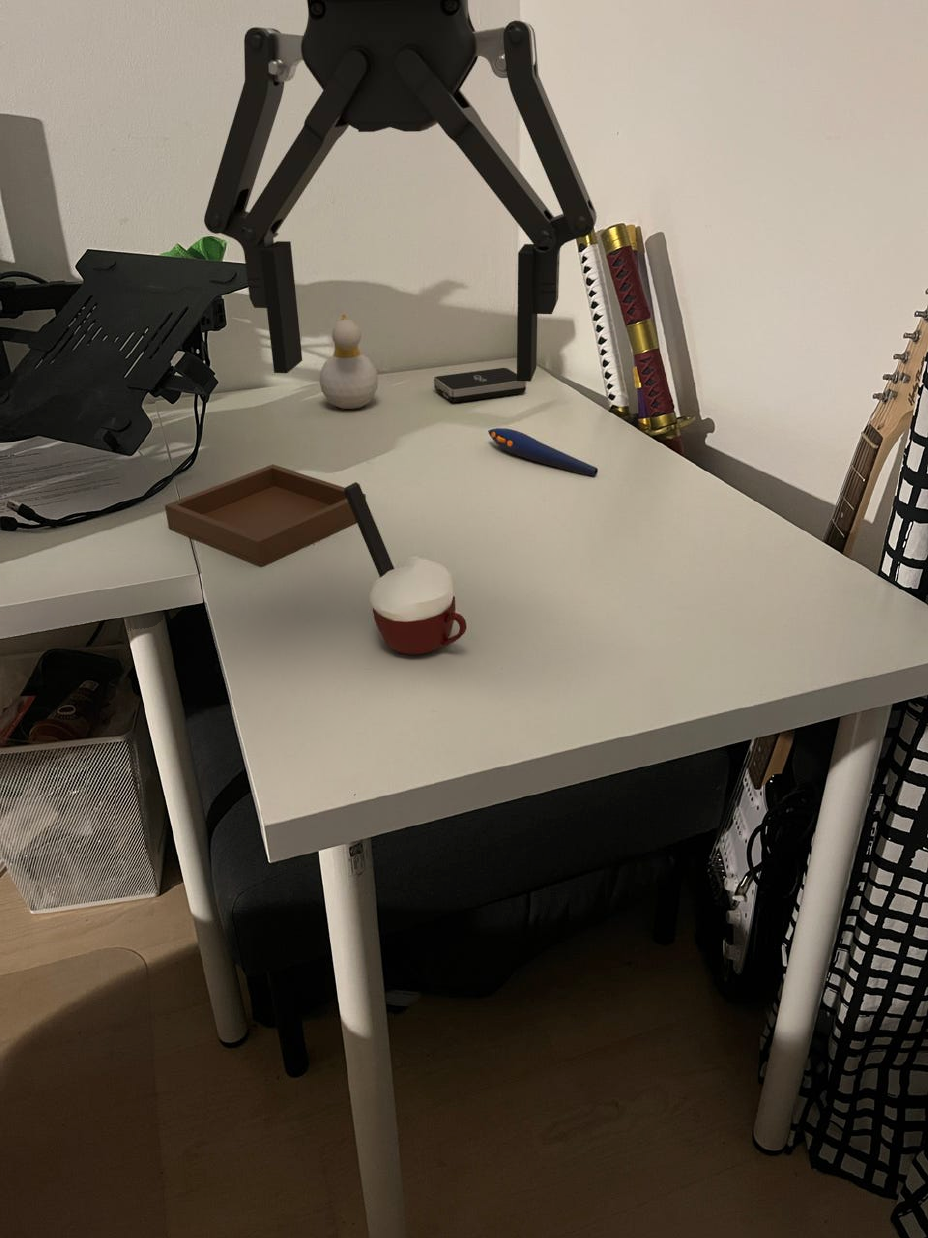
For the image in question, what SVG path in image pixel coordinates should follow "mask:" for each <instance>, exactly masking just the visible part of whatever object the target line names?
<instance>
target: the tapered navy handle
mask: <svg viewBox="0 0 928 1238" xmlns="http://www.w3.org/2000/svg"><path fill="white" fill-rule="evenodd" d="M487 433H488V434H489V436H490V438H491V439H492V441H493V442H494V443H495V444H496V445H497V446H498V447H499V448H501V449H503V450H504V451H506V452H508V453H510V454H513V455H514V456H516V457H517V456H518V457H520V458H523V459H526V460H529V461H532V462H535V463H538V464H542V465H545V466H550V467H552V468H556V469H561V470H565V471H569V472H573V473H577V474H582V475H586V476H590V477H596V476H597V475H598V472H599V469H598V467H596V466H594V465H591V464H589V463H586V462H585V461H582V460H580V459H578V458H576V457H574V456H571V455H569V454H567V453H565V452H563V451H560V450H558V449H556V448H555V447H552V446H550V445H548V444H545V443H543V442H541V441H539V440H537V439H535V438H533V437H531V436H530V435H528V434H526V433H524V432H521V431H518V430H515V429H510V428H506V427H505V428H504V427H503V428H502V427H496V428H491V429H489V430H487Z"/></svg>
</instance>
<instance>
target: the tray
mask: <svg viewBox="0 0 928 1238" xmlns="http://www.w3.org/2000/svg"><path fill="white" fill-rule="evenodd" d="M344 490H345V487H344V486H341V485H339V484H335V483H332V482H329V481H326V480H323V479H319V478H316V477H313V476H310V475H307V474H303V473H301V472H299V471H295V470H292V469H288V468H286V467H282V466H279V465H276V464H270V465H267V466H265V467H263V468H260V469H257V470H254V471H252V472H249V473H247V474H244V475H241V476H239V477H235V478H233V479H230V480H228V481H225V482H223V483H220V484H217V485H215V486H211V487H210V488H209V487H208V488H207V489H204V490H201V491H199V492H196V493H193V494H191V495H188V496H186V497H183V498H180V499H178V500H174V501H173V502H169V503H166V504H165V505H164V509H165V514H166V520H167V526H168V529H169V530H171V531H174V532H176V533H178V534H181V535H183V536H185V537H188V538H191V539H192V540H195V541H197V542H200V543H202V544H205V545H207V546H210V547H212V548H215V549H217V550H219V551H222V552H223V553H226V554H229V555H231V556H234V557H236V558H239V559H241V560H243V561H246V562H248V563H250V564H252V565H255V566H258V567H260V568H262V567H264V566H267V565H269V564H270V563H271V564H272V563H274V562H275V561H277V560H279V559H282V558H283V557H286V556H288V555H290V554H292V553H294V552H297V551H299V550H302V549H303V548H305V547H307V546H310V545H311V544H314V543H316V542H319V541H320V540H322V539H325V538H327V537H329V536H331V535H333V534H335V533H337V532H340V531H342V530H344V529H346V528H348V527H351V526H352V525H355V524H357V522H356V519H355V517H354V515H353V512H352V510H351V507H350V505H349V503H348V500H347V498H346V496H345V493H344ZM363 494H364V497H365V499H366V500H367V495H366V493H363Z"/></svg>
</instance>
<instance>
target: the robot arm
mask: <svg viewBox="0 0 928 1238" xmlns="http://www.w3.org/2000/svg"><path fill="white" fill-rule="evenodd" d="M306 4H307V11H308V13H307V23H306V27H305V30H304V32H303V35H299V34H291V33H282V32H281V31H279V30H278V29H276V28H270V27H259V26H258V27H257V26H256V27H250V28H249V29H248V30H246V32H245V35H244V38H243V39H244V40H243V49H244V51H243V52H244V53H243V54H244V57H243V58H244V83H243V85H242V89H241V92H240V96H239V99H238V102H237V105H236V109H235V112H234V116H233V119H232V123H231V126H230V129H229V133H228V136H227V139H226V143H225V146H224V149H223V152H222V155H221V159H220V163H219V166H218V170H217V173H216V176H215V179H214V181H213V186H212V190H211V193H210V197H209V199H208V202H207V206H206V209H205V213H204V218H203V222H204V225H205V228H206V230H207V231H209V232H210V233H211V234H214V235H218V234H221V235H223V236H225V237H228V238H231V239H232V240H233V239H234V240H235V241H237V243H239V244H240V246H241V248H242V251H243V254H244V264H245V271H246V279H247V281H246V282H247V287H248V295H249V300H250V302H251V304H252V306H253V308H254V309H266V313H267V314H266V315H267V322H268V332H269V340H270V349H271V357H272V358H271V359H272V366H273V373H274V374H288V373H289V372H290V371H292V370H293V369H294V368H295V367H296V366H298V365H299V364H300V363H302V362H303V352H302V344H301V342H302V341H301V332H300V322H299V313H298V303H297V293H296V282H295V281H296V280H295V273H294V271H295V270H294V263H293V262H294V261H293V253H292V242H291V241H285V240H283V241H282V240H277V241H275V240H274V239H275V238H276V237H278V235H279V232H278V231H279V230H280V228H281V227H282V225H283V223H284V222H285V220H286V219H287V217H288V216H289V214H290V213H291V211H292V210H293V209H294V207H295V205H296V204H297V202H298V201H299V200H300V197H301V196H302V195H303V193H304V192H305V190H306V188H307V187H308V185H309V184H310V182H311V181H312V180H313V178H314V176H315V175H316V173H317V171H319V169H320V167H321V166H322V164H323V163H324V161H325V160H326V158H327V156H328V155H329V154H330V152H331V150H332V149H333V147H334V146H335V144H336V143H337V141H338V140H339V139H340V138H341V137H342V136H343V135H344V134H345V132H346V131H347V129H348V128H349V126H350V127H352V128H353V129H356V130H357V132H358V133H374V132H378V131H379V132H380V131H383V130H385V129H389V128H390V129H394V130H398V131H400V132H405V133H407V132H408V133H409V132H410V133H411V132H413V133H414V132H418V133H419V132H423V131H426V130H429V129H431V128H433V127H434V126H435V125H437V124H438V125H439V127H440V129H442V131H443V132H444V134H446V136H447V137H448V138H449V139H450V140H452V141H453V143H455V144H456V146H457V147H458V148H459V149H460V151H461V152H462V153H463V154H464V156H465V157H466V159H467V160H468V162H469V163H470V164H471V165H472V166H473V168H474V169H475V170H476V172H477V173H478V174H479V175H480V177H481V178H482V179H483V180H484V182H485V183H486V184H487V186H488V187H489V188H490V190H491V191H492V192H493V193H494V195H495V196H496V197H497V198H498V200H499V201H500V203H501V204H502V205H503V206H504V208H505V209H506V210H507V212H508V213H509V214H510V215H511V217H512V218H513V219H514V221H515V222H516V223H517V224H518V226H519V227H520V229H521V230H522V231H523V233H525V235H526V236H527V238H528V239H529V240H530V241H531V243H524V244H523V245H522V247H521V248H520V250H519V251H518V252H517V315H516V316H517V319H516V322H517V324H516V329H517V331H516V336H517V337H516V373H517V381H526V382H529V383H530V382H532V380H533V377H534V375H535V372H536V370H537V358H538V357H537V356H538V353H537V352H538V315H553V313H554V310H555V308H556V305H557V303H558V301H559V293H560V292H559V288H560V286H559V285H560V260H561V259H560V257H561V256H560V255H561V254H560V253H561V248H562V246H564V245H565V244H566V243H569V242H572V241H574V240H576V239H579V238H584V237H587V236H589V235H590V234H591V233H592V231H593V230H594V227H595V225H596V223H597V218H598V216H597V212H596V209H595V206H594V205H593V201H592V200H591V197H590V195H589V193H588V190H587V188H586V185H585V183H584V181H583V178H582V175H581V174H580V173H581V172H580V171H579V169H578V166H577V163H576V162H575V159H574V157H573V154H572V152H571V149H570V146H569V145H568V142H567V139H566V137H565V134H564V133H563V130H562V128H561V126H560V123H559V121H558V119H557V116H556V114H555V111H554V109H553V106H552V104H551V102H550V98H549V97H548V94H547V92H546V89H545V87H544V85H543V82H542V80H541V78H540V75H539V65H538V51H537V40H536V33H535V29H534V28H533V26H532V25H531V24H530V23H528V22H525V21H522V20H513V21H510V22H508V24H507V25H506V26H501V27H495V28H489V29H483V30H476V29H475V27H474V25H473V23H472V20H471V15H470V11H469V0H306ZM479 57H482V58H484V59H486V60H487V62H488V63H489V65H490V67H491V71H492V72H493V74H494V75H495V76H496V77H498V78H500V79H507V82H508V87H509V90H510V93H511V95H512V98H513V101H514V104H515V105H516V107H517V110H518V112H519V114H520V117H521V119H522V121H523V124H524V126H525V128H526V130H527V133H528V135H529V138H530V140H531V142H532V144H533V147H534V149H535V152H536V153H537V156H538V159H539V161H540V163H541V165H542V167H543V170H544V173H545V175H546V177H547V180H548V181H549V184H550V186H551V188H552V190H553V193H554V196H555V198H556V200H557V203H558V205H559V207H560V210H561V212H562V213H560V214H558V215H556V216H554V215H553V213H552V212H551V211H550V209H549V208H548V207H547V205H546V204H545V203H544V201H543V200H542V199H541V198H540V196H539V195H538V194H537V192H536V191H535V190H534V188H533V187H532V186H531V184H530V183H529V182H528V180H527V179H526V178H525V176H524V175H523V174H522V172H521V171H520V170H519V169H518V167H517V166H516V164H515V163H514V162H513V161H512V159H511V158H510V157H509V155H508V154H507V152H506V151H505V149H503V147H502V146H501V145H500V144H499V142H498V140H497V139H496V138H495V137H494V135H493V134H492V133H491V132H490V130H489V128H488V127H487V126H486V124H484V122H483V120H482V118H481V116H480V115H479V113H478V112H477V111H476V109H475V107H473V105H472V104H471V102H470V101H469V99H468V98H467V97H466V96H465V95H464V93H463V92H462V91H461V88H462V86H463V85H464V83H465V81H466V80H467V79H468V77H469V75H470V73H471V72H472V70H473V68H474V67H475V65H476V63H477V61H478V58H479ZM302 61H303V63H304V64H305V67H306V68H307V69H308V71H309V72H310V74H311V75H312V76H313V78H314V79H315V81H316V82H317V83H318V84H319V87H320V88H321V90H322V92H321V94H320V95H319V96H318V98H317V100H316V101H315V103H314V104H313V106H312V108H311V109H310V111H309V113H308V114H307V115H306V118H305V120H304V122H303V126H302V128H301V130H300V131H299V133H298V135H297V136H296V138H295V139H294V141H293V143H292V144H291V145H290V147H289V149H288V150H287V152H286V153H285V155H284V157H283V158H282V160H281V161H280V163H279V165H278V166H277V168H276V169H275V171H274V172H273V174H272V176H271V177H270V179H269V180H268V182H267V184H266V185H265V187H264V188H263V190H262V191H261V193H260V195H259V196H258V197H257V200H256V201H255V203H254V204H253V206H252V207H251V209H250V210H249V211H247V207H248V204H249V201H250V198H251V195H252V192H253V189H254V185H255V183H256V179H257V177H258V173H259V170H260V168H261V164H262V160H263V158H264V155H265V151H266V148H267V145H268V142H269V139H270V136H271V133H272V130H273V126H274V123H275V121H276V117H277V113H278V111H279V107H280V105H281V102H282V98H283V93H284V89H285V82H289V81H291V80H292V79H293V78H294V77H295V75H296V71H297V67H298V65H299V64H300V63H301V62H302Z"/></svg>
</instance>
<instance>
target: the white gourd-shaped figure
mask: <svg viewBox="0 0 928 1238" xmlns="http://www.w3.org/2000/svg"><path fill="white" fill-rule="evenodd" d="M331 338H332V341H333V344H334V351H333V354H332V355H331V356H329V358H327V359H326V360H325V361H324V363H323V364H322V366H321V370H320V372H319V385H320V390H321V392H322V394H323V395H324V397H325V399H326V400H327V401H328V402H329V403H330V404H331V405H333V406H334V407H337V408H340V409H342V410H343V409H345V410H355V409H360V408H362V407H364V406H365V405H368V404H369V403H370V402H371V400H372V399H373V398H374V397H375V395H376V393H377V392H376V391H377V390H378V385H379V384H378V383H379V377H378V373H377V369H376V367H375V365H374V364H373V362H372V361H371V360H370V359H369V358H368V356H366V355H364V354H362V353H361V351H360V349H359V344H360V342H361V338H362V333H361V329H360V327H359V326H358V324H357V323H356V322H355V321H353V320H352V319H351V320H350V319H348V318H347V317H346V314H342V317H341V319H340V320H339V321H337V322H336V323H335V324H334V325H333V327H332V330H331Z"/></svg>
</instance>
